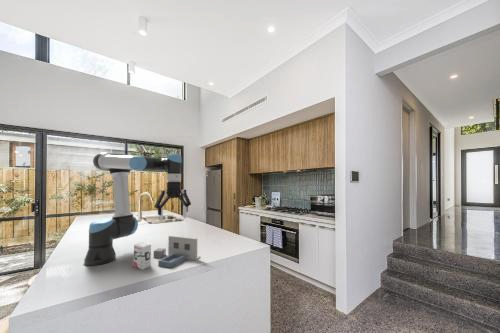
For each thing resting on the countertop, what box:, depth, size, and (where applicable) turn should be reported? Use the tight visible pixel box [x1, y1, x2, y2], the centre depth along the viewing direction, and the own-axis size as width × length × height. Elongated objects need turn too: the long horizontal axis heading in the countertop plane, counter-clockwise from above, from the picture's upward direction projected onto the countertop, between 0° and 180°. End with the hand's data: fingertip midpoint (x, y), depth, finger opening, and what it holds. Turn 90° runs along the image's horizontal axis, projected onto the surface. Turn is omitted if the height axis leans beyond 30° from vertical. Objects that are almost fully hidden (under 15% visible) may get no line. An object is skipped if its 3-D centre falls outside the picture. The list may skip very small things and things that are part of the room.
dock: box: [157, 253, 187, 269], centre depth 123 cm, size 9×13×3 cm
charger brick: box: [153, 247, 167, 259], centre depth 134 cm, size 6×5×4 cm
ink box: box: [132, 242, 152, 270], centre depth 119 cm, size 8×5×12 cm, turn 60°
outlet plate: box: [167, 235, 201, 261], centre depth 133 cm, size 20×5×12 cm, turn 69°
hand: (173, 219), depth 122 cm, fingers open, 13 cm apart
